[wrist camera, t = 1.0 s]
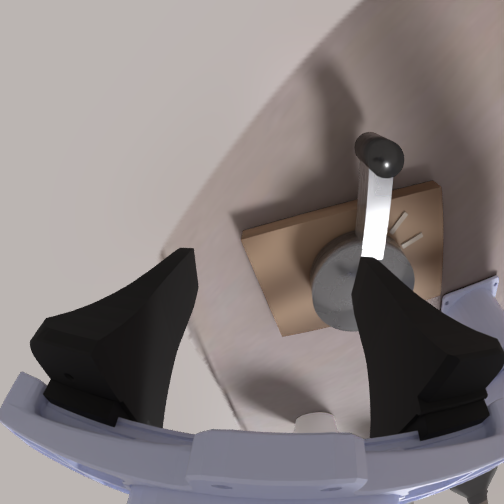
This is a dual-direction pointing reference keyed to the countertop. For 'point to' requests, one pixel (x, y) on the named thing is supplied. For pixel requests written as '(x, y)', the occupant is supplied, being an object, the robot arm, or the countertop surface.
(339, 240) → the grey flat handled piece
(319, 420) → the foam cup
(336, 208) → the wooden board
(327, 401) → the countertop surface
